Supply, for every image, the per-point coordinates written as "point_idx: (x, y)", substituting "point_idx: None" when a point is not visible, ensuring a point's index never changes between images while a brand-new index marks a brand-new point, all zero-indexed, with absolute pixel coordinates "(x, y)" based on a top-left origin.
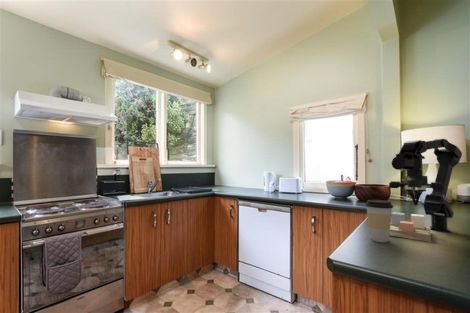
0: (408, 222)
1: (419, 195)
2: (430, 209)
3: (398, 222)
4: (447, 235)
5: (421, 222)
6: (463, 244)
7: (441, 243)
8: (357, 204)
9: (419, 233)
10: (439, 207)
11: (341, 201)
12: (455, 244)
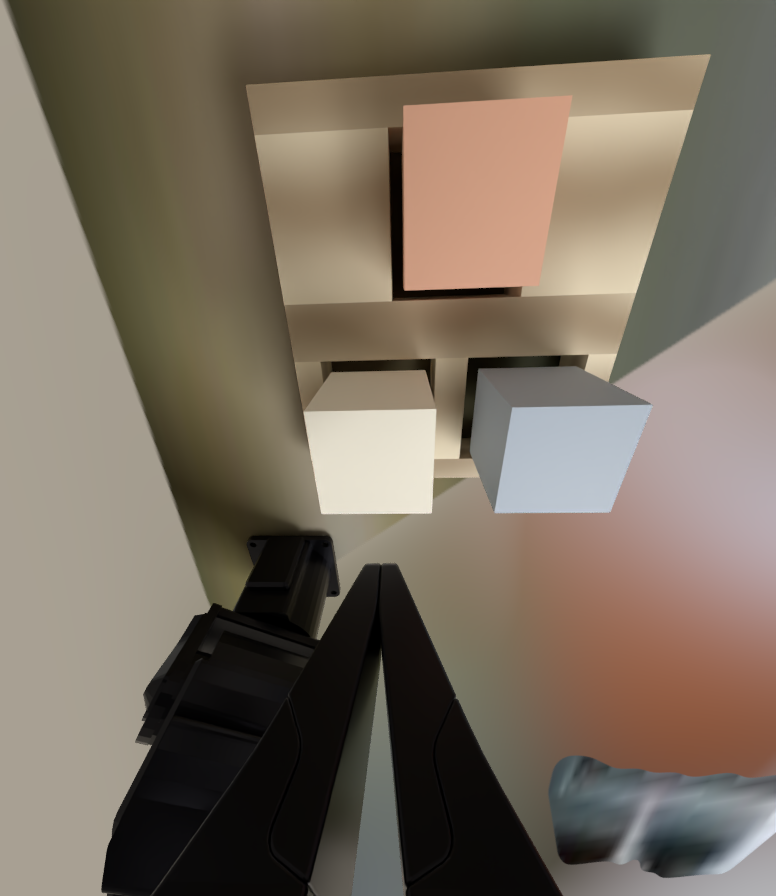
0: (458, 221)
1: (244, 806)
2: (291, 665)
3: (533, 375)
4: (238, 454)
5: (343, 388)
6: (93, 232)
7: (198, 118)
8: (628, 815)
9: (344, 78)
10: (199, 674)
11: (690, 835)
12: (123, 178)
